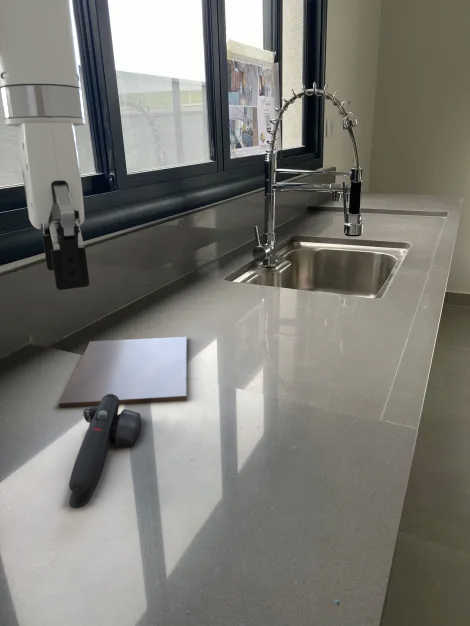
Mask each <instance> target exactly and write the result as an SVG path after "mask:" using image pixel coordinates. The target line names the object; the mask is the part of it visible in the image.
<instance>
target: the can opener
mask: <svg viewBox="0 0 470 626" xmlns="http://www.w3.org/2000/svg"><path fill="white" fill-rule="evenodd" d="M119 408H120V404H119V398H118V397H117V396H116V395H114V394H107V395H105V396H104V397H103V398H102V400H101V402H100V404H99V406H87V407H84V408H83V409H82V410H83V411H82V412H83V413H82V416H83V418H84V421H85V422H86V423H89V424H88V428H87V429H86V432H85V435H84V438H83V440H82V441H81V445H80V447H79V450H78V453H77V456H76V457H75V462H74V463H73V464H74V465H73V467H72V471H71V475H70V479H69V482H68V487H69V490H70V491H71V492H70V497H69V501H68V505H69V507H70V508H72V509H80V508H82V507H84V506H86V505H87V504H88V503H89V501H90V500H91V499H92V496H93V495H94V492H95V490H96V488H97V486H98V484H99V481H100V479H101V477H102V474H103V470H104V467H105V464H106V460H107V456H108V452H109V449H110V445H111V443H114V446H113V447H114V449H127V448H132V447H133V446H134V445H135V444H136V442H137V440H138V439H139V437H140V434H141V430H142V417H141V413H140V412H136V411H134V410H130V409H126V408H124V409H122V410H121V412H120V413H119Z"/></svg>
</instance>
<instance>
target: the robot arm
mask: <svg viewBox="0 0 470 626" xmlns="http://www.w3.org/2000/svg"><path fill="white" fill-rule="evenodd" d="M72 7H73V6H72V0H0V101H1V107H2V113H3V120H4V125H5V127H14V128H16V127H17V139H18V151H19V158H20V167H21V172H22V179H23V185H24V191H25V197H26V199H25V200H26V205H27V213H28V219H29V221H30V223H31V225H32V226H33V227H34V228H35V229H37V230H42V232H43V235H42V236H41V237H42V243H43V249H44V257H45V262H46V268H47V270H48V271H53V275H54V282H55V287H56V289H57V290H59V291H64V290H71V289H80V288H86V287H88V286H89V285H90V277H89V269H88V260H87V252H86V246H84V239H83V235H82V231H81V226H82V224H83V223H84V222H85V206H84V194H83V184H82V177H81V168H80V160H79V153H78V144H77V139H76V132H75V127H79V126H85V125H86V121H85V114H84V105H83V94H82V86H81V79H80V77H81V76H80V70H79V62H78V61H79V60H78V53H77V42H76V36H75V35H76V34H75V26H74V17H73V9H72Z"/></svg>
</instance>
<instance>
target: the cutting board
mask: <svg viewBox="0 0 470 626" xmlns="http://www.w3.org/2000/svg"><path fill="white" fill-rule="evenodd" d="M187 360H188V337H187V336H175V337H153V338H152V337H151V338H134V339H133V338H132V339H113V340H112V339H111V340H93V341H89V343H88V344H87V347H86V348H85V351H84V352H83V354H82V356H81V358H80V360H79V362H78V364H77V365H76V368H75V370H74V372H73V373H72V376H71V378H70V380H69V382H68V384H67V386H66V387H65V389H64V391H63V393H62V395H61V397H60V400H59V401H58V403H57V404H58V408H59V409H65V408H79V407H81V408H83V407H95V406H99V404H100V402H101V400H102V398H103V397H104V396H105V395H107V394H114V395H116V396H117V397H118V398H119V405H131V404H146V403H147V404H148V403H149V404H150V403H164V402H165V403H166V402H167V403H168V402H181V401H188V361H187Z"/></svg>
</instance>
